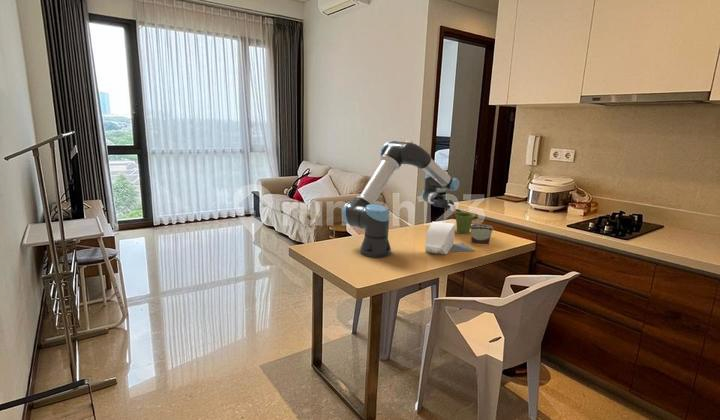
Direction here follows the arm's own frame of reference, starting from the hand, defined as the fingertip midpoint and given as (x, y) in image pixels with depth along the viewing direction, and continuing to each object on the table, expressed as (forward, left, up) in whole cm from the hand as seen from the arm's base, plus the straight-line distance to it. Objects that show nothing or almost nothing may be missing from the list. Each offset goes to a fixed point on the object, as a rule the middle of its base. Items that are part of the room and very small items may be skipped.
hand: (454, 208), depth 208 cm
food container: (+15, -3, -19) cm, 25 cm away
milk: (-6, -2, -13) cm, 14 cm away
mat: (-3, -10, -19) cm, 22 cm away
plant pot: (+16, +17, -19) cm, 30 cm away
